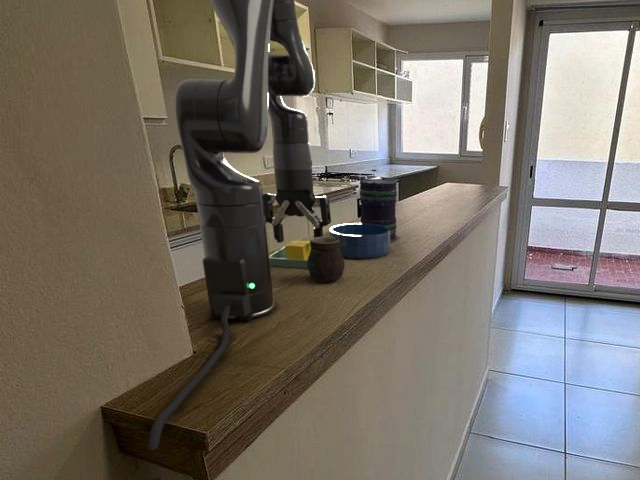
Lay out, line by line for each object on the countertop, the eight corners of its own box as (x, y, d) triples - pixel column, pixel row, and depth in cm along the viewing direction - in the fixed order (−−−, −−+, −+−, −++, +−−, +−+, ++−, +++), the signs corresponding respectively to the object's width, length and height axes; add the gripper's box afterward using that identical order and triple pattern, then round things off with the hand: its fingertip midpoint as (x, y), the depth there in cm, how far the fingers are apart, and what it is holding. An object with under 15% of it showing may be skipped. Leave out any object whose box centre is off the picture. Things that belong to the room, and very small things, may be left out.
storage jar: (368, 232, 128) (367, 166, 121) (401, 235, 126) (402, 168, 119) (354, 239, 120) (352, 169, 113) (389, 243, 117) (389, 171, 110)
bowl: (383, 261, 101) (383, 237, 99) (322, 257, 102) (321, 233, 100) (394, 246, 114) (394, 225, 112) (340, 243, 115) (339, 221, 113)
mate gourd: (305, 275, 90) (301, 225, 86) (342, 272, 93) (340, 224, 89) (310, 286, 84) (307, 234, 80) (350, 283, 86) (348, 232, 83)
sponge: (304, 262, 97) (303, 246, 95) (286, 261, 97) (285, 245, 96) (312, 256, 101) (311, 241, 100) (295, 255, 102) (294, 240, 100)
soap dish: (315, 269, 94) (315, 261, 94) (266, 265, 95) (265, 257, 95) (330, 256, 103) (330, 249, 103) (285, 253, 104) (284, 246, 104)
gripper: (251, 166, 89) (260, 245, 96) (320, 169, 87) (324, 249, 94) (268, 162, 96) (275, 237, 102) (332, 165, 94) (335, 241, 101)
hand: (299, 243), depth 98 cm, fingers open, 8 cm apart
